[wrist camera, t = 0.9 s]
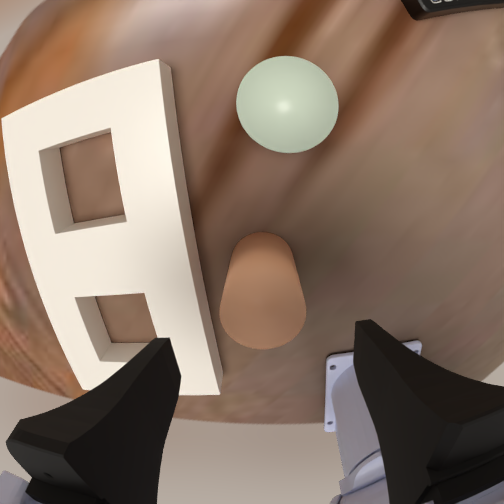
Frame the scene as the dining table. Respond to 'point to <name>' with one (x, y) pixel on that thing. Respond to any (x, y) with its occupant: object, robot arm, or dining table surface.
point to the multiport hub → (446, 7)
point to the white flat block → (114, 224)
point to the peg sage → (287, 104)
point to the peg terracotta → (262, 293)
